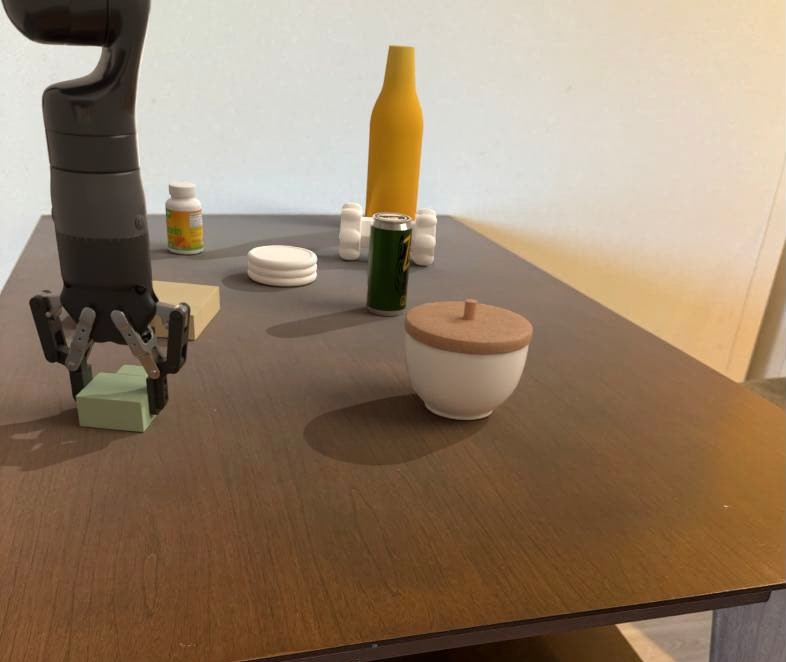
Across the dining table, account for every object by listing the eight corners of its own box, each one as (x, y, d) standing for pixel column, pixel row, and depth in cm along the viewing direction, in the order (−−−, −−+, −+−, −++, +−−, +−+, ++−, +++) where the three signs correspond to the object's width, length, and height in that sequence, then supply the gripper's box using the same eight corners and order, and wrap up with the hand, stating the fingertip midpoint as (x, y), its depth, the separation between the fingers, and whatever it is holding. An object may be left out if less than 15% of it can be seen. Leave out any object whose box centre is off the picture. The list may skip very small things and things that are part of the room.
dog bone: (431, 257, 140) (436, 205, 136) (433, 271, 133) (438, 216, 128) (340, 250, 139) (342, 198, 135) (337, 264, 132) (339, 209, 128)
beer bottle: (353, 227, 154) (361, 42, 138) (391, 223, 159) (403, 44, 144) (387, 239, 148) (400, 48, 133) (425, 233, 154) (441, 49, 138)
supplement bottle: (160, 250, 132) (155, 183, 127) (186, 244, 136) (182, 179, 130) (185, 257, 129) (181, 189, 124) (210, 251, 133) (208, 185, 128)
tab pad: (143, 432, 78) (141, 402, 77) (79, 426, 78) (75, 396, 77) (171, 396, 85) (168, 368, 84) (111, 391, 85) (108, 362, 84)
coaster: (258, 289, 118) (258, 263, 116) (239, 269, 126) (238, 245, 124) (326, 285, 122) (327, 260, 120) (303, 267, 129) (304, 243, 127)
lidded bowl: (515, 439, 82) (534, 328, 77) (388, 421, 84) (396, 311, 78) (522, 391, 93) (538, 291, 87) (408, 376, 94) (417, 276, 89)
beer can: (366, 315, 112) (371, 220, 105) (365, 303, 116) (370, 211, 110) (406, 317, 112) (414, 223, 106) (404, 305, 117) (411, 213, 110)
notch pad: (77, 329, 100) (73, 304, 98) (112, 299, 110) (110, 276, 108) (195, 340, 99) (193, 315, 98) (220, 309, 109) (219, 286, 108)
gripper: (198, 221, 74) (207, 400, 83) (36, 207, 75) (62, 386, 84) (173, 241, 68) (186, 432, 77) (-4, 225, 68) (29, 417, 77)
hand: (121, 408), depth 80 cm, fingers closed on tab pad, 6 cm apart
